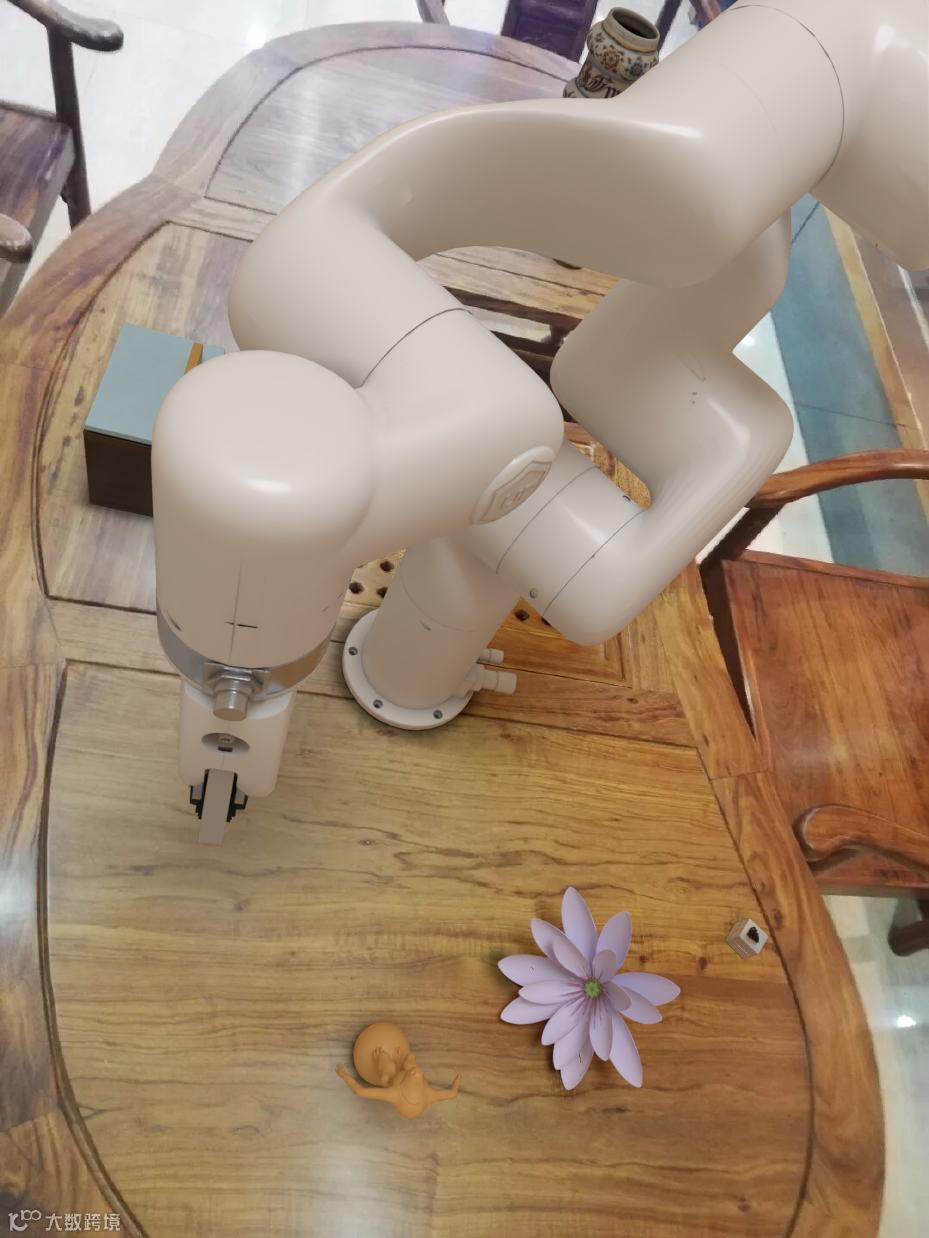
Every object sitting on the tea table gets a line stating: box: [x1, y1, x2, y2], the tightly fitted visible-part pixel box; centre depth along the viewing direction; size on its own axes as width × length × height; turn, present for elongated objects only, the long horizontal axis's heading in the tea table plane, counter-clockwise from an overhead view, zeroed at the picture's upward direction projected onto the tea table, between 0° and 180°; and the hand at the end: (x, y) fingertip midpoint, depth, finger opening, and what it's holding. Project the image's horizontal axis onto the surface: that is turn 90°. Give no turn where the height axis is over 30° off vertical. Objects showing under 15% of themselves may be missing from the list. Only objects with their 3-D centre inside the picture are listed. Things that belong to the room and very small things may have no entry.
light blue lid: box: [84, 321, 226, 445], centre depth 71 cm, size 13×9×3 cm
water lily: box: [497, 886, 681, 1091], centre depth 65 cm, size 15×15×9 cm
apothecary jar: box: [562, 6, 661, 99], centre depth 130 cm, size 12×12×18 cm
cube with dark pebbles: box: [724, 918, 769, 960], centre depth 73 cm, size 2×2×2 cm
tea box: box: [82, 427, 153, 517], centre depth 77 cm, size 13×18×10 cm
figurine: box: [334, 1021, 463, 1120], centre depth 55 cm, size 8×6×12 cm
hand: (227, 751), depth 51 cm, fingers closed on kiwi fruit, 5 cm apart
